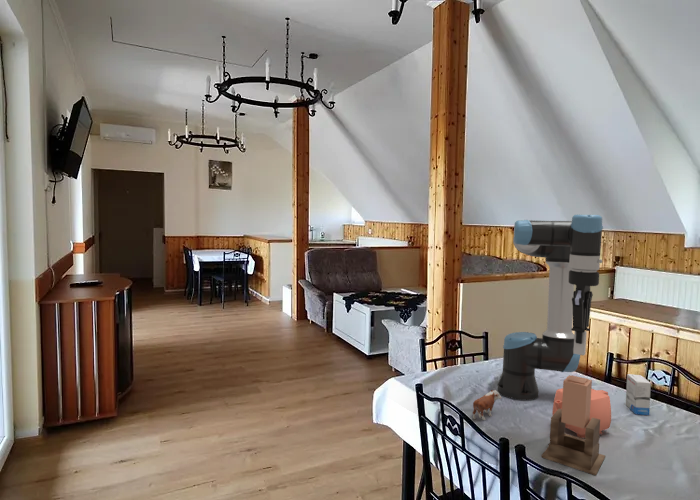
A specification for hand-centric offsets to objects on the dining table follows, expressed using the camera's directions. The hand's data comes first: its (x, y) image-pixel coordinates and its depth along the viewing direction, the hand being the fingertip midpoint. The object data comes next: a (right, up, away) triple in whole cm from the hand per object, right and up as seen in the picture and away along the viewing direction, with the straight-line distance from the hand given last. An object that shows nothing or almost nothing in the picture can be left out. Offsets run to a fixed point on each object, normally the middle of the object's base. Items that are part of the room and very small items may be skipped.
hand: (579, 353), depth 128 cm
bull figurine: (-18, -28, +28) cm, 44 cm away
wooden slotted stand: (0, -30, +3) cm, 30 cm away
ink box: (+38, -28, +35) cm, 59 cm away
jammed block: (0, -20, +2) cm, 20 cm away
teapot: (+10, -29, +20) cm, 37 cm away
